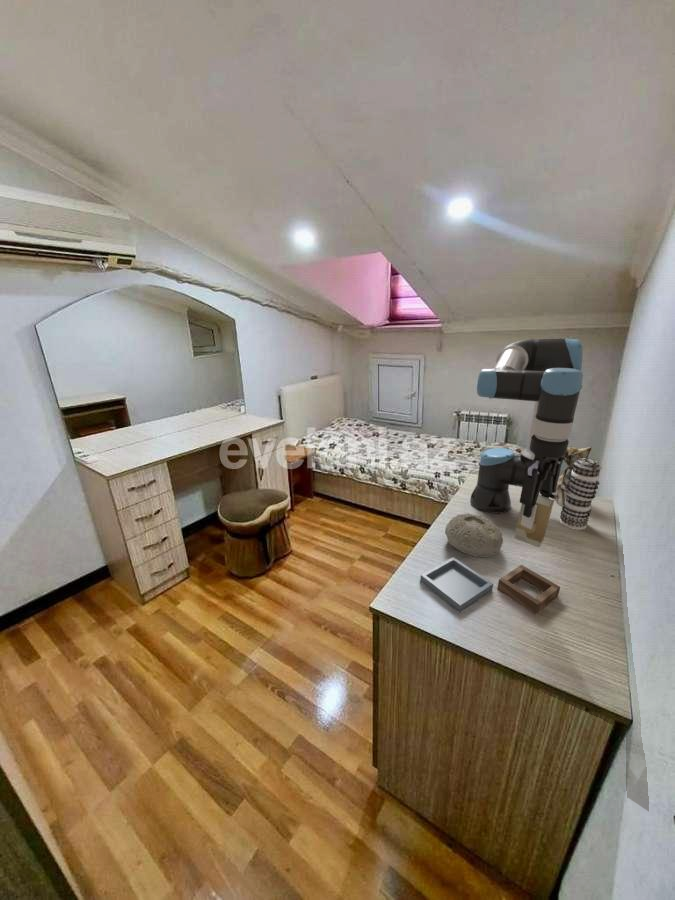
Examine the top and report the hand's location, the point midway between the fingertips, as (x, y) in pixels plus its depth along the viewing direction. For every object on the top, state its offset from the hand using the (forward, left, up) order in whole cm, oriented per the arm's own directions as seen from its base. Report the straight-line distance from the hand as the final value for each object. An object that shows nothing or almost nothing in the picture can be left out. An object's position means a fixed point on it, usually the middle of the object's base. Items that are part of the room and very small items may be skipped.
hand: (532, 522), depth 89 cm
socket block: (-2, +2, -23) cm, 23 cm away
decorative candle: (-49, -8, -23) cm, 54 cm away
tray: (+12, -11, -23) cm, 28 cm away
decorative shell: (-7, -20, -23) cm, 32 cm away
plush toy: (-64, -17, -23) cm, 70 cm away
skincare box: (0, 0, -5) cm, 5 cm away
